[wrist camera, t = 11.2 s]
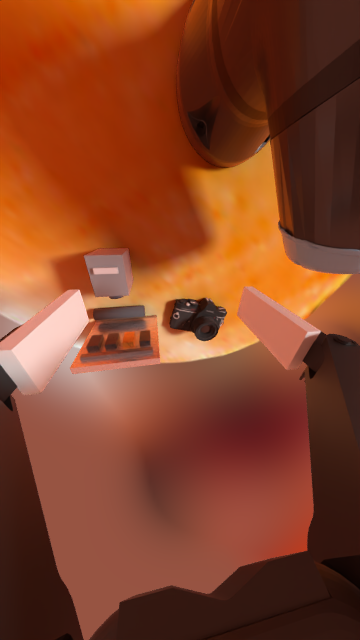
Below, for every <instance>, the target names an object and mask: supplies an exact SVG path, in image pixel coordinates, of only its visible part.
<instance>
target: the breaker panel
mask: <svg viewBox="0 0 360 640" xmlns="http://www.w3.org/2000/svg"><path fill="white" fill-rule="evenodd" d="M152 364H160V354H159V341H158V328H157V316H156V315H154V316H145V317H134V318H121V319H108V320H97V321H96V323H95V324H94V326H93V328H92V330H91V331H90V333H89V335H88V337H87V339H86V340H85V342H84V344H83V346H82V348H81V349H80V351H79V353H78V355H77V356H76V358H75V360H74V362H73V364H72V365H71V367H70V370H71V372H72V374H77V373H85V372H94V371H102V370H110V369H118V368H127V367H136V366H144V365H152Z"/></svg>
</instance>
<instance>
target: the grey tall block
mask: <svg viewBox="0 0 360 640" xmlns="http://www.w3.org/2000/svg"><path fill="white" fill-rule="evenodd" d="M84 259H85V262H86V265H87V269H88V272H89V276H90V279H91V283H92V286H93V290H94V293H95V297H107V296H109V298H111V299H118V298H122V297H123V296H125V295H129V294H130V290H131V287H132V283H133V275H132V268H131V261H130V254H129V248H99V249H97V250H95V251H93V252H91V253H88V254H86V255H84Z"/></svg>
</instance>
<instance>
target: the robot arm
mask: <svg viewBox="0 0 360 640" xmlns="http://www.w3.org/2000/svg"><path fill="white" fill-rule="evenodd" d="M176 90H177V101H178V108H179V113H180V118H181V121H182V124H183V127H184V130H185V133H186V135H187V137H188V139H189V141H190V143H191V144H192V146H193V148H194V149H195V150H196V151H197V153H198V154H199V155H200V156H201V157H202V158H203V159H205V160H206V161H207V162H209V163H211V164H213V165H216V166H219V167H232V166H236V165H239V164H241V163H243V162H245V161H246V160H248V159H249V158H251V157H252V156H254V155H255V154H256V153H258V152H259V151H260V150H261V149H262V148H263V147H264V146H265V145H266V144H267V143H268V141H269V140H270V145H271V152H272V159H273V168H274V176H275V184H276V193H277V201H278V209H279V218H280V220H279V222H278V227H279V230H280V232H281V233H282V237H283V243H284V248H285V252H286V254H287V256H288V258H289V259H290V260H291V261H292V262H294V263H296V264H298V265H301V266H302V267H304V268H306V269H309V270H313V271H318V272H324V273H333V274H360V0H193V2H192V4H191V7H190V10H189V12H188V15H187V19H186V22H185V26H184V29H183V34H182V39H181V45H180V50H179V56H178V63H177V75H176ZM237 315H238V317H239V318H240V319H241V320H242V321H243V322H244V323H245V324H246V325H247V327H248V328H249V329H250V330H251V331H252V332H253V333H254V334H255V335H256V336H257V338H258V339H259V340H260V341H261V342H262V343H263V344H264V345H265V346H266V348H267V349H268V350H269V351H270V352H271V353H272V354H273V355H274V356H275V358H276V359H277V360H278V361H279V362H280V363H281V364H282V365H283V366H284V368H285V369H286V370H291V369H298V368H299V366H300V365H301V363H302V362H304V363H306V364H307V367H306V368H305V370H304V371H303V373H302V375H301V376H300V378H299V379H300V380H302V378H304V377H305V383H306V398H307V413H308V428H309V441H310V442H309V443H310V457H311V473H312V488H313V503H314V513H313V518H312V521H311V524H310V527H309V531H308V540H307V542H308V543H307V548H308V551H304V552H299V553H295V554H290V555H285V556H280V557H275V558H271V559H267V560H263V561H259V562H256V563H252V564H248V565H245V566H241V567H239V568H238V569H237V570H236V571H235V572H234V573H233V574H232V575H231V576H229V577H228V578H227V579H226V580H225V581H224V582H223V583H222V584H221V585H220V586H219V587H217V588H216V589H215V590H214V591H213V592H212V593H210V594H205V593H201V592H196V591H192V590H188V589H184V588H180V587H176V586H167V587H164V588H160V589H156V590H153V591H150V592H145V593H142V594H138V595H135V596H133V597H130V598H128V599H126V600H124V601H122V602H120V605H119V609H118V610H117V611H115V612H114V613H113V614H112V615H111V616H110V617H109V618H108V619H107V620H106V621H105V622H104V623H103V624H102V625H101V626H100V627H99V628H98V629H97V631H96V632H95V633H94V634H93V636H92V637H91V638H90V640H360V346H359V345H358V344H357V343H356V342H355V341H353V340H351V339H349V338H347V337H344V336H341V335H337V334H328V335H326V334H324V333H323V332H321V331H320V330H318V329H317V328H315V327H314V326H312V325H311V324H309V323H308V322H306V321H304V320H303V319H301V318H300V317H298V316H297V315H295V314H294V313H292V312H291V311H289V310H288V309H286V308H284V307H283V306H281V305H280V304H278V303H277V302H275V301H274V300H272V299H271V298H269V297H267V296H266V295H264V294H263V293H261V292H260V291H258V290H257V289H255V288H254V287H244V289H243V293H242V297H241V301H240V305H239V309H238V313H237ZM88 322H89V319H88V315H87V312H86V309H85V306H84V303H83V299H82V296H81V293H80V290H67V291H66V292H65V293H63V294H62V295H61V296H59V297H58V298H57V299H56V300H54V301H53V302H52V303H50V304H49V305H48V306H47V307H45V308H44V309H43V310H41V311H40V312H39V313H37V314H36V315H35V316H34V317H32V318H31V319H30V320H28V321H27V322H26V323H25V324H23V325H21V326H19V327H17V328H15V329H13V330H12V331H11V332H9V333H8V334H7V335H5V336H4V337H3V338H2V339H0V640H84V639H83V636H82V632H81V629H80V625H79V621H78V617H77V614H76V611H75V607H74V603H73V600H72V597H71V595H70V593H69V591H68V589H67V587H66V585H65V584H64V582H63V581H62V579H61V577H60V575H59V573H58V570H57V566H56V563H55V559H54V555H53V551H52V547H51V543H50V539H49V535H48V531H47V527H46V523H45V519H44V515H43V511H42V507H41V503H40V499H39V495H38V491H37V487H36V483H35V479H34V475H33V471H32V467H31V463H30V459H29V455H28V451H27V447H26V443H25V439H24V435H23V431H22V427H21V423H20V419H19V415H18V411H17V407H16V403H15V399H14V398H13V397H12V396H11V394H12V392H13V391H14V390H15V389H16V388H18V389H19V390H20V392H22V394H23V395H29V394H40V393H42V391H43V390H44V388H45V387H46V385H47V384H48V382H49V381H50V379H51V378H52V376H53V375H54V373H55V372H56V370H57V369H58V367H59V366H60V364H61V363H62V361H63V360H64V358H65V357H66V355H67V353H68V352H69V351H70V349H71V348H72V346H73V345H74V343H75V342H76V340H77V339H78V337H79V336H80V334H81V333H82V331H83V330H84V328H85V327H86V325H87V324H88Z"/></svg>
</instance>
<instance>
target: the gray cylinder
mask: <svg viewBox="0 0 360 640" xmlns="http://www.w3.org/2000/svg"><path fill="white" fill-rule="evenodd" d="M93 316H94V319H95V320H108V319H121V318H134V317H145V308H144V306H131V307H116V308H101V309H94V310H93Z"/></svg>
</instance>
